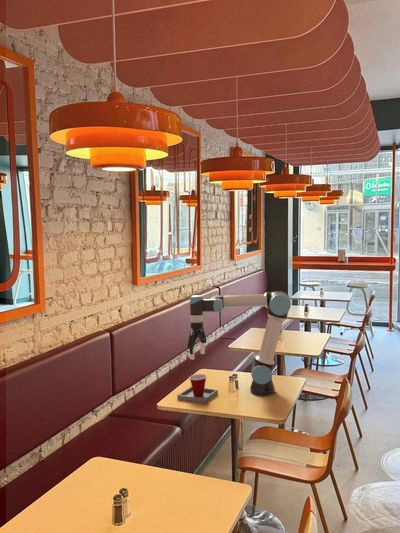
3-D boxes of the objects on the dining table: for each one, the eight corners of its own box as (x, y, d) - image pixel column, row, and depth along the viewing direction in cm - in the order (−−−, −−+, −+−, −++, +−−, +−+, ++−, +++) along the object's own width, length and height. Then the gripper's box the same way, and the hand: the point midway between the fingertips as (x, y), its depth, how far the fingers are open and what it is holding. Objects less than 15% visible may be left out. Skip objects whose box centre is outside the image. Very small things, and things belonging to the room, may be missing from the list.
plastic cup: (191, 392, 304) (191, 372, 303) (208, 393, 301) (208, 373, 300) (187, 398, 293) (186, 378, 292) (205, 399, 291) (204, 379, 290)
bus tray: (217, 394, 301) (217, 389, 301) (204, 404, 285) (204, 399, 285) (191, 390, 309) (191, 385, 309) (177, 399, 293) (177, 394, 293)
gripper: (200, 317, 306) (201, 350, 308) (180, 324, 284) (181, 361, 286) (211, 318, 303) (212, 352, 304) (192, 325, 280) (193, 362, 282)
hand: (197, 356), depth 295 cm, fingers open, 13 cm apart
